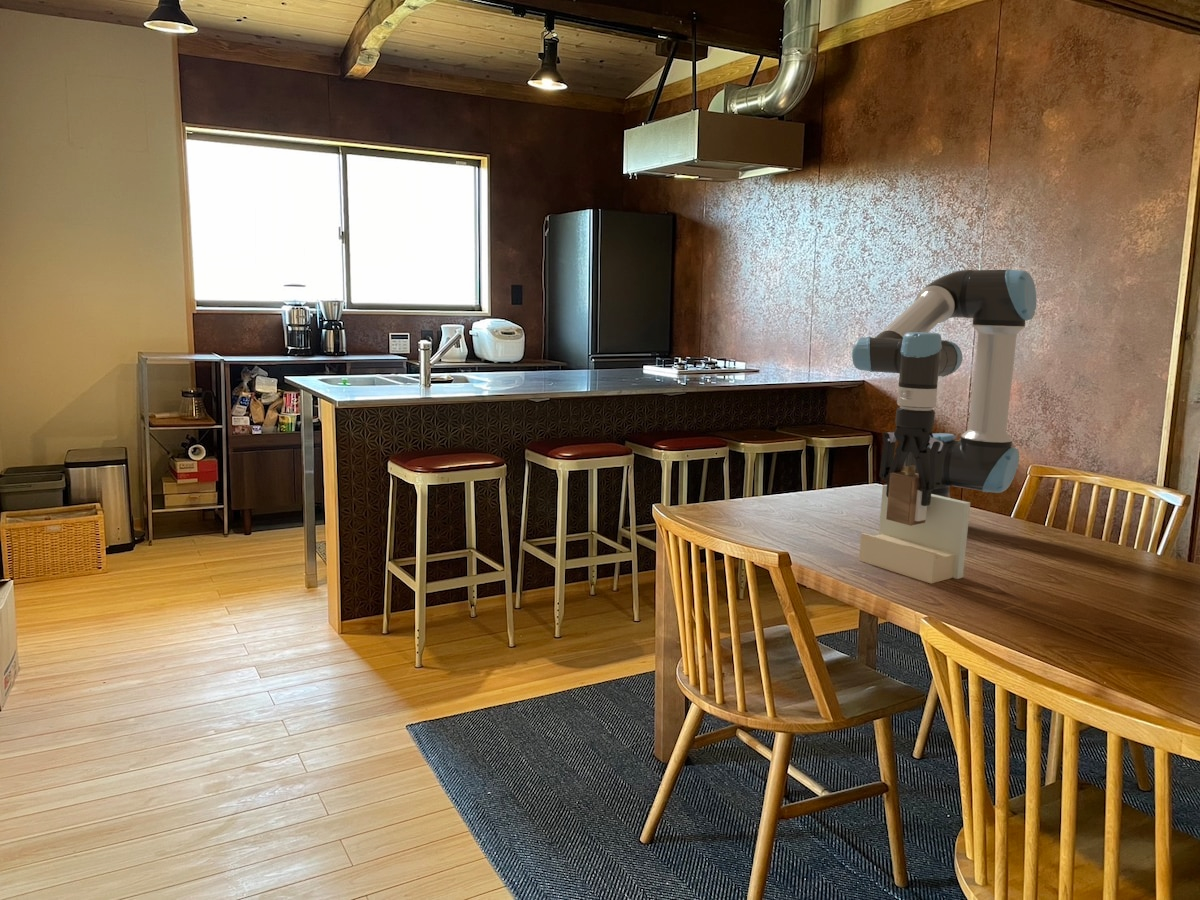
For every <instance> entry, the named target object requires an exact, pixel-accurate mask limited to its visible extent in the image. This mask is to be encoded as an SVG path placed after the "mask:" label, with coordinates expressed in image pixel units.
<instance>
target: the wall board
mask: <svg viewBox="0 0 1200 900" xmlns="http://www.w3.org/2000/svg"><path fill="white" fill-rule="evenodd" d="M881 491H882V492H881V503H880V515H879V528H878V534H876V535H873V534H869V533H865V532H861V534H860V544H859V558H858V561H859V562H862V563H865V564H869V565H871V566H875V567H877V568H880V569H881V568H882V569H883V570H884V569H885V570H888V571H890V572H893V573H897V574H900V575H903V576H906V577H908V578H913V579H915V580H918V581H920V582H925V583H929V584H931V585H932V584H935V583H939V582H941V581H945V580H949V579H957V580H959V579H962V578H963V577H964V570H965V559H966V551H967V541H968V540H967V539H968V530H969V519H970V511H971V502H970V501H965V500H959V499H956V498H951V497H950V498H948V497H943V496H939V495H934V494H931V502H930V505H929V506H927V511H926V521H925V523H921V524H916V525H912V526H910V525H906V524H902V523H899V522H895V521H891V520H887V519H886V517H887V505H888V497H887V496H886V491H887V484H883V485H882V490H881Z"/></svg>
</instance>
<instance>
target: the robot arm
mask: <svg viewBox="0 0 1200 900" xmlns="http://www.w3.org/2000/svg"><path fill="white" fill-rule="evenodd" d="M1036 309H1037V292H1036V285H1035V281H1034V279H1033V277H1032V275H1031V274H1030V273H1029V272H1028V271H1026V270H1022V269H1021V270H1019V269H1011V268H1010V269H1009V268H1008V269H975V270H974V269H963V270H956V271H954V272H950V273H949V274H946V275H944V276H940V277H939V278H937V279H935V280H933V281H932V282H930V283H928V284H927V285H926V286H924V287H923V288H922V289H921V290H920V291H919V292H918V294H917V295H916V297H915V301H914V302H913V303H912V304H911V305H910V306H908V307H907V308H905V310H904V311H903V312H901V314H899V315H898V316H897V317H896V318H895V319H894V320H893V321H892V322H891V323H890V324H889V325H888V326H886V327H885V328H884V329H883V330H882V331H880V333H878V334H877V335H876V336H875V337H871V336H867V337H866V336H865V337H859V338H857V340H856V341H855V342H854V344H853V347H852V351H851V354H852V355H851V357H852V364H853V366H854V367H855V368H856V370H859V371H865V372H870V373H874V372H875V373H885V374H886V373H887V374H899V376H898V377H899V378H898V384H897V385H898V389H897V398H896V400H897V401H896V405H898V406H899V407H897V408H896V409H895V410H896V411H895V421H894V424H895V425H896V428H895V429H894V431H889V432H884V433H882V435H881V436H882V442H883V443H882V444H883V445H882V452H881V461H880V467H879V478H880V479H883V480H884V481H886V485H887V491H886V496H887V497H888V493H889V481H890V473H894V472H900V471H905V466H910V465H914V466H916V468H915V473H918V474H919V480H920V485H921V488H920V489H919V490H917V500H916V511H915V521H922V520H926V511H927V506H929V505H930V502H931V494H934V495H939V496H943V497H948V498H951V497H950V491H951V490H950V489H951V487H953V488H954V487H955V488H962V489H969V490H975V491H981V492H983V493H995V494H997V493H1000V494H1001V493H1004V492H1005V491H1006V490H1007V489H1008V488H1009V487H1010V486H1011V484H1012V482H1013V480H1014V478H1015V475H1016V472H1017V469H1018V466H1019V460H1020V453H1019V452H1020V451H1019V449H1018V448H1016V447H1014V446H1012V444H1013V438H1012V437H1011V436H1010V435H1009V434H1008V432H1007V429H1008V420H1009V419H1008V418H1009V411H1010V410H1009V409H1010V402H1011V401H1010V400H1011V392H1012V390H1011V389H1012V382H1013V373H1014V364H1015V363H1014V362H1015V355H1016V354H1015V353H1016V345H1017V336H1018V335H1019V333H1020V332H1021V331H1023V330H1024V329H1025V326H1026V322H1027V321H1029V320H1032V319H1034V316H1035V313H1036V311H1035V310H1036ZM953 318H964V319H965V318H966V319H972V327H973V329H974V330H976V332H977V333H978V334H977V342H976V353H975V363H974V371H973V372H974V373H973V383H972V392H971V393H972V394H971V402H970V410H969V411H970V413H969V420H968V421H969V422H968V429H967V430H966V431H964V432H963V434H961V436H960V440H956V437H955V434H953V433H948V432H947V433H943V432H941V433H940V432H939V433H933V428H934V426H935V416H936V415H935V414H936V412H935V410H934V409H933V408H935V407H936V405H937V394H938V384H939V383H938V382H939V377H948V376H949V375H952V374H953V373H955V372H956V371H958V370H959V368H960V367H961V365H962V362H963V353H962V350H961V348H960V347H959V345H957V344H956V343H954V342H953V341H950V340H942V335H941V334H939V333H937V332H931V330H932V329H934V328H935V326H937V325H938V324H941V323H944V322H946V321H948V320H949V319H953ZM896 442H897V445H896Z"/></svg>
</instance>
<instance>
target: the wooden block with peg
mask: <svg viewBox="0 0 1200 900" xmlns="http://www.w3.org/2000/svg"><path fill="white" fill-rule="evenodd" d="M915 468H916V466H914V465H910V466H905V471H904V470H901V471H900V472H894V473H890V481H889V493H888V505H887V517H886V519H887V520H891V521H895V522H899V523H902V524H906V525H910V526H912V525H916V524H921V523H925V521H926V520H922V521H915V511H916V500H917V490H919V489H920V488H921V485H920V480H919V474H918V473H915Z"/></svg>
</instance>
